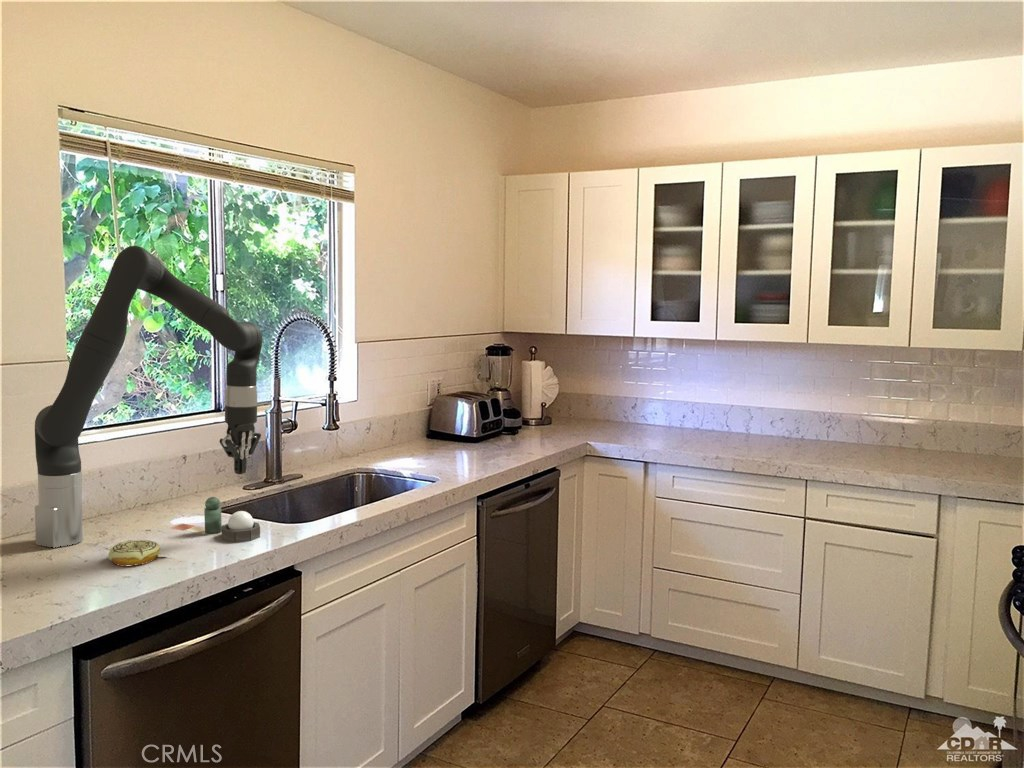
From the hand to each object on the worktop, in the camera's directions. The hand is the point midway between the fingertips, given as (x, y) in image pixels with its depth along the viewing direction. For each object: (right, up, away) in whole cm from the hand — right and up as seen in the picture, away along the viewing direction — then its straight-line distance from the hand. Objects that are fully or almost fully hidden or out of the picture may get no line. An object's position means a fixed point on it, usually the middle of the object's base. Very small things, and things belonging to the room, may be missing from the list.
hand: (240, 473), depth 204 cm
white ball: (-1, -16, +2) cm, 16 cm away
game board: (-8, -17, +5) cm, 19 cm away
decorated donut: (-20, -19, -14) cm, 31 cm away
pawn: (-9, -15, +5) cm, 18 cm away
